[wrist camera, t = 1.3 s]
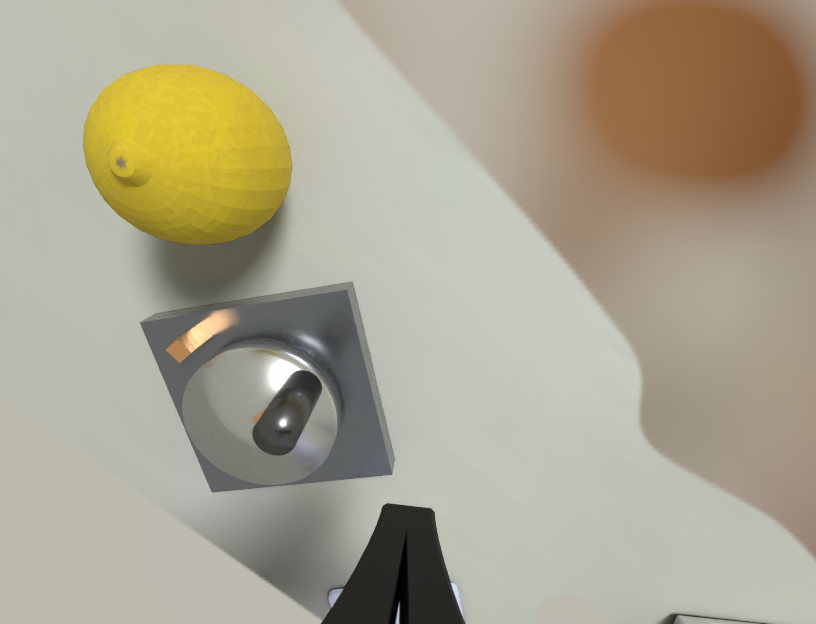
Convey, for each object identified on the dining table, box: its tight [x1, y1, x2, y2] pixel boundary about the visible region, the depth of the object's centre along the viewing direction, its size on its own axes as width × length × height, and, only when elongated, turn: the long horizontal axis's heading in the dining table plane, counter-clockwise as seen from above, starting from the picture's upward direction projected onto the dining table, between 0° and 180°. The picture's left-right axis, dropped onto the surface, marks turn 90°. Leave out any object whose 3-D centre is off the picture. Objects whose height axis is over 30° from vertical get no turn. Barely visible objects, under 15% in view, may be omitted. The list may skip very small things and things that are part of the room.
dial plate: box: [140, 282, 395, 492], centre depth 21 cm, size 10×10×3 cm
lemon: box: [83, 65, 292, 245], centre depth 14 cm, size 6×6×8 cm
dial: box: [182, 338, 342, 485], centre depth 18 cm, size 7×7×5 cm
